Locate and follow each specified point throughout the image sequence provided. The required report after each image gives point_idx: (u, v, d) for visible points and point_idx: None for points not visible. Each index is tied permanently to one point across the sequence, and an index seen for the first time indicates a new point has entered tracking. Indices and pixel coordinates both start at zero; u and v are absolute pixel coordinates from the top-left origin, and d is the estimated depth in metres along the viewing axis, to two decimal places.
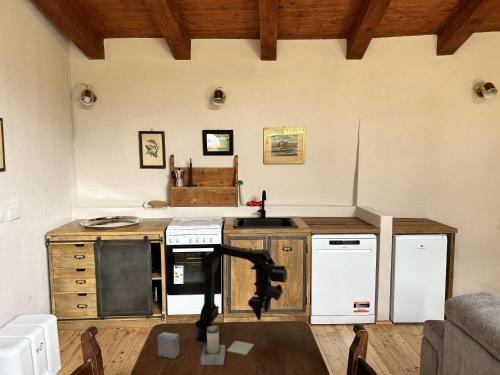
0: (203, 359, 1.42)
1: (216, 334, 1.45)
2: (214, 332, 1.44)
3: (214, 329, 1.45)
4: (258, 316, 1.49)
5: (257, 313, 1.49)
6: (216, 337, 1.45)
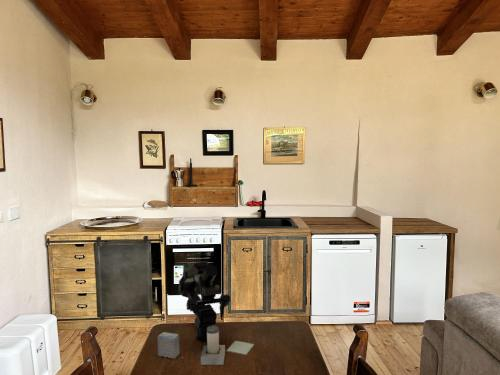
0: (203, 359, 1.42)
1: (216, 334, 1.45)
2: (214, 332, 1.44)
3: (214, 329, 1.45)
4: (198, 319, 1.51)
5: (197, 316, 1.52)
6: (216, 337, 1.45)
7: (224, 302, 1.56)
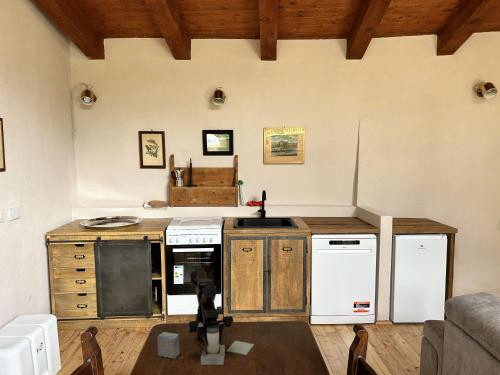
0: (203, 359, 1.42)
1: (216, 334, 1.45)
2: (214, 332, 1.44)
3: (214, 329, 1.45)
4: (205, 341, 1.45)
5: (203, 338, 1.46)
6: (216, 337, 1.45)
7: (222, 325, 1.49)
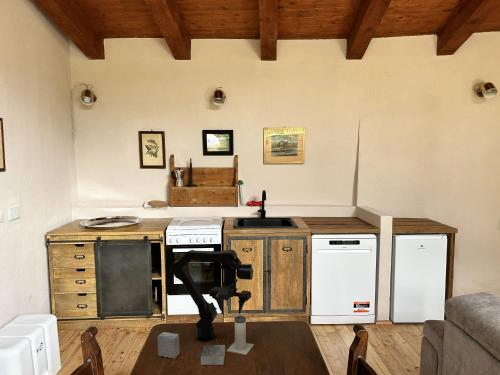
0: (203, 359, 1.42)
1: (245, 322, 1.54)
2: (244, 321, 1.53)
3: (243, 318, 1.54)
4: None
5: None
6: (245, 325, 1.54)
7: (241, 302, 1.57)
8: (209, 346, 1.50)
